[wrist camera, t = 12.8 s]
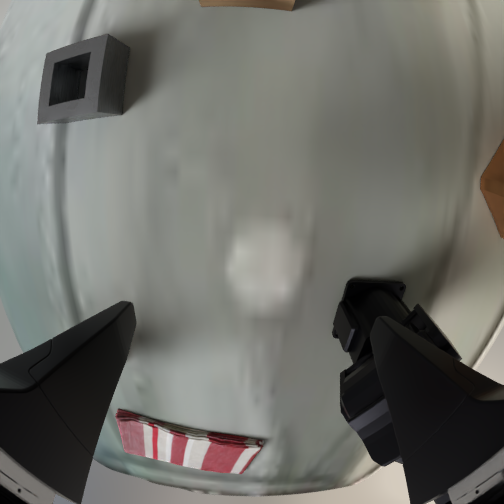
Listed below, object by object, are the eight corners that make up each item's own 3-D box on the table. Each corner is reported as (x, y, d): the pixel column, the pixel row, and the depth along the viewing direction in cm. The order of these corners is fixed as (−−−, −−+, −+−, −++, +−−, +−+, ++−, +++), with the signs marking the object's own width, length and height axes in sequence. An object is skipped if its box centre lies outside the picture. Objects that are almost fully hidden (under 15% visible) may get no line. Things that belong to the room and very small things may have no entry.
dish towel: (116, 404, 33) (111, 417, 30) (266, 435, 35) (266, 449, 33) (126, 444, 39) (123, 454, 37) (241, 468, 41) (241, 478, 39)
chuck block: (130, 47, 15) (108, 33, 12) (122, 115, 18) (97, 112, 14) (72, 61, 15) (46, 53, 11) (65, 123, 17) (37, 124, 14)
